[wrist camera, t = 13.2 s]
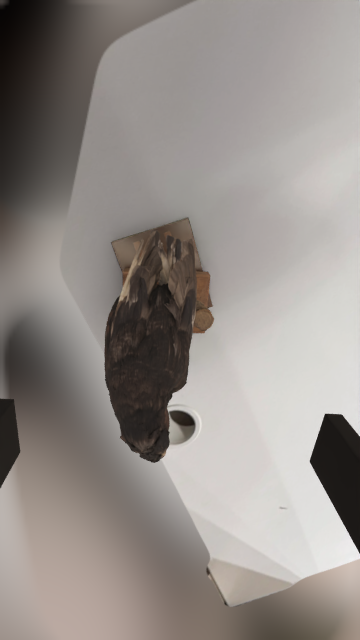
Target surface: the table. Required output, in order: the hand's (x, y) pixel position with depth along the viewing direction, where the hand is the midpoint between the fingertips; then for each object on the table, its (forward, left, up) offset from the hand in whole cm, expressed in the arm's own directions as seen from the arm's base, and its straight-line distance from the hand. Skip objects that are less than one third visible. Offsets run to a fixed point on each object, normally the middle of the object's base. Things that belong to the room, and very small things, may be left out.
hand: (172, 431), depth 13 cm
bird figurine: (0, 0, -29) cm, 29 cm away
